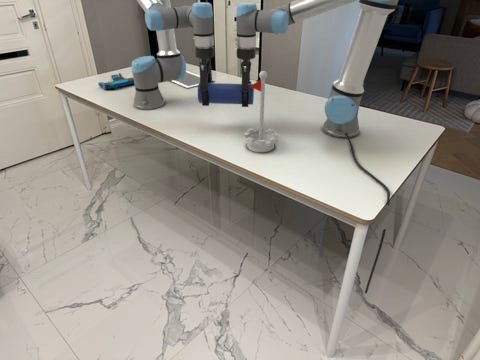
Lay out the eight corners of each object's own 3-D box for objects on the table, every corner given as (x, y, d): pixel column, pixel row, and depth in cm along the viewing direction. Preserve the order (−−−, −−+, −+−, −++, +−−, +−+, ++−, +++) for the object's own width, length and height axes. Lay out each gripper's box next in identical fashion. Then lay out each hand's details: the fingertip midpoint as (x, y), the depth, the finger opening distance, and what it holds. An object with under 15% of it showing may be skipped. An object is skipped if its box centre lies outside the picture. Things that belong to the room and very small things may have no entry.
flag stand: (268, 136, 145) (271, 64, 128) (282, 150, 134) (288, 73, 118) (239, 141, 141) (239, 68, 124) (252, 155, 130) (253, 77, 114)
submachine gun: (142, 67, 226) (160, 73, 209) (143, 73, 228) (161, 80, 211) (90, 77, 207) (106, 85, 191) (92, 83, 209) (108, 91, 193)
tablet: (159, 76, 219) (159, 75, 219) (186, 70, 230) (186, 70, 230) (187, 88, 199) (187, 87, 198) (214, 81, 210) (214, 80, 210)
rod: (253, 100, 149) (253, 81, 145) (252, 107, 142) (252, 87, 137) (202, 99, 151) (200, 80, 146) (198, 106, 144) (197, 86, 139)
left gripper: (199, 41, 144) (203, 93, 156) (189, 52, 126) (194, 110, 138) (217, 41, 143) (219, 93, 155) (209, 53, 125) (212, 111, 138)
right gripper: (239, 41, 142) (239, 94, 155) (234, 53, 125) (234, 111, 137) (256, 42, 142) (255, 94, 154) (254, 53, 124) (253, 112, 136)
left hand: (207, 101), depth 147 cm, fingers closed on rod, 8 cm apart
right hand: (245, 102), depth 146 cm, fingers closed on rod, 8 cm apart
